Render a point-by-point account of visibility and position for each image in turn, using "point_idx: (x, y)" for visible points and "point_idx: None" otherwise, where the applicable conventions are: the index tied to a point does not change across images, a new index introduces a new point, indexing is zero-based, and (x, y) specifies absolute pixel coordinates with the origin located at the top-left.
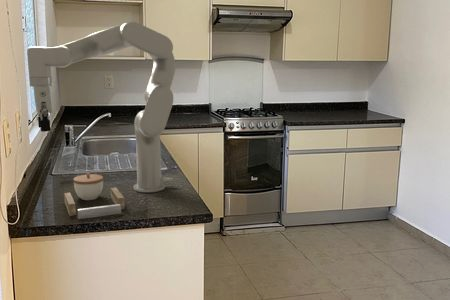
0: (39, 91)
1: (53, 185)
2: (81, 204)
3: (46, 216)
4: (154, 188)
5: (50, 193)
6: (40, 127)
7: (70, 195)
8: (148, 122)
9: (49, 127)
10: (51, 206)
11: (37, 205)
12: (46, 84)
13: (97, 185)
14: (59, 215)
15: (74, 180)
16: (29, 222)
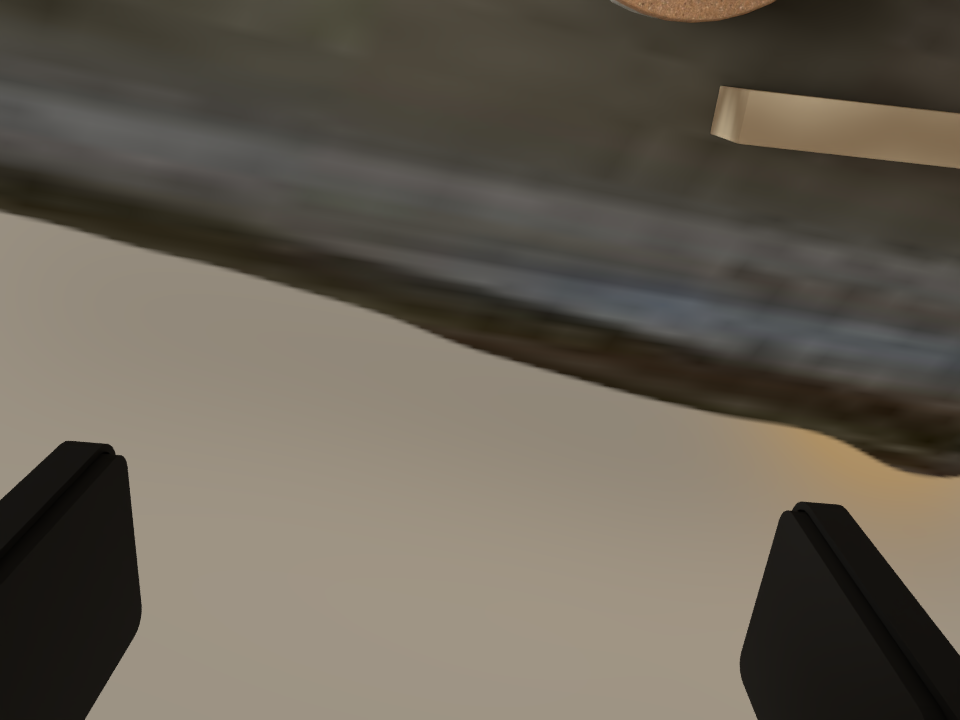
0: None
1: (102, 102)
2: (810, 9)
3: (912, 312)
4: None
5: (356, 178)
6: (129, 590)
7: (847, 109)
8: None
9: (871, 570)
10: (713, 239)
11: (629, 322)
12: None
13: None
14: (955, 231)
15: (721, 18)
16: (952, 420)
